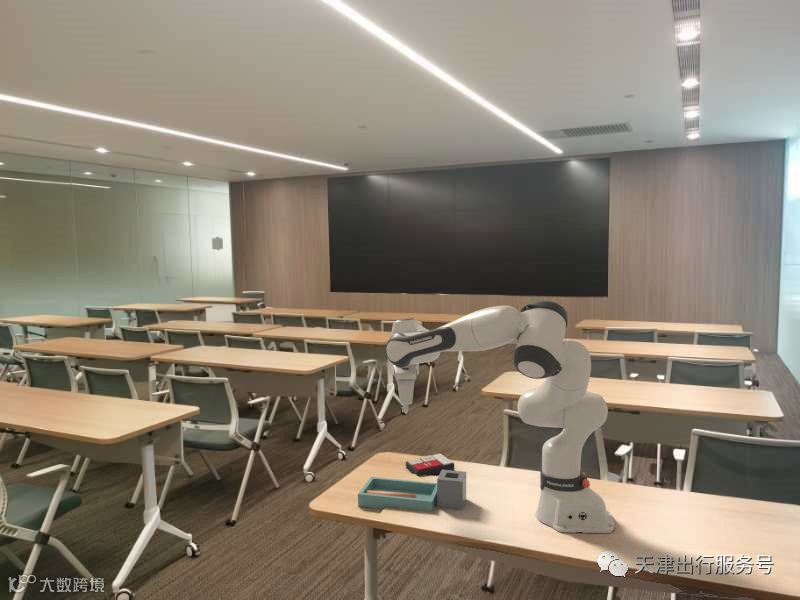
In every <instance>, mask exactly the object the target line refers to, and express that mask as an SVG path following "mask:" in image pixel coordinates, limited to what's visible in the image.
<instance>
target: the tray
mask: <svg viewBox="0 0 800 600" xmlns="http://www.w3.org/2000/svg"><path fill="white" fill-rule="evenodd" d="M367 490H371V491H383V492H396V493H408V494H416V498H408V497H399V496H389V495H380V494H370V493H367ZM436 505H437V482H430V481H429V482H428V481H419V480H408V479H397V478H389V477H386V478H385V477H378V476H377V477H376V476H370V477H369V479H368V480H367V481H366V482H365V485H364V486H363V487H362V488H361V489H360V491H359V492H358V493H357V507H364V508H372V509H381V510H383V509H385V508H386V507H389V508H399V509H407V510H416V511H427V512H433V511H434V508H435V506H436Z"/></svg>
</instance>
